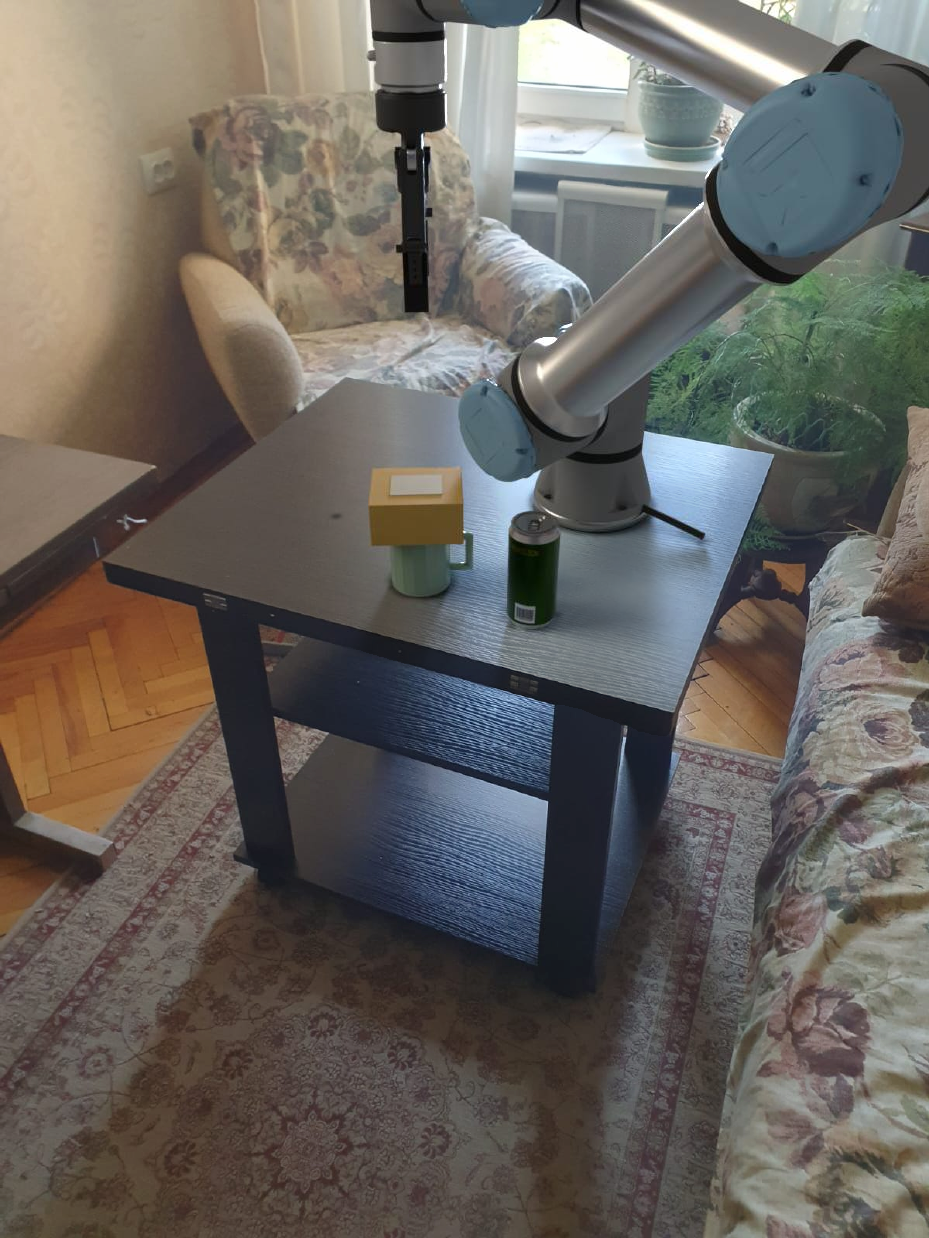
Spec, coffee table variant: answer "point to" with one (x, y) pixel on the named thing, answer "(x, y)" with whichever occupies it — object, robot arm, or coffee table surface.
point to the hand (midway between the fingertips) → (417, 293)
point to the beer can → (532, 569)
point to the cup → (426, 567)
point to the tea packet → (416, 506)
